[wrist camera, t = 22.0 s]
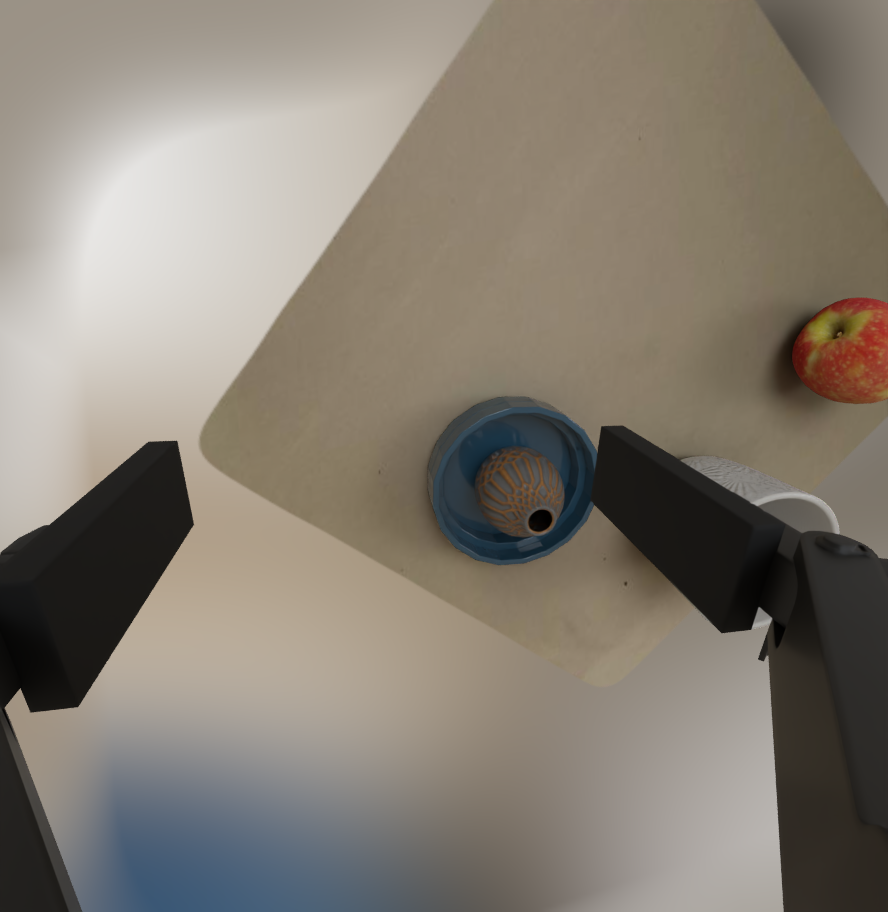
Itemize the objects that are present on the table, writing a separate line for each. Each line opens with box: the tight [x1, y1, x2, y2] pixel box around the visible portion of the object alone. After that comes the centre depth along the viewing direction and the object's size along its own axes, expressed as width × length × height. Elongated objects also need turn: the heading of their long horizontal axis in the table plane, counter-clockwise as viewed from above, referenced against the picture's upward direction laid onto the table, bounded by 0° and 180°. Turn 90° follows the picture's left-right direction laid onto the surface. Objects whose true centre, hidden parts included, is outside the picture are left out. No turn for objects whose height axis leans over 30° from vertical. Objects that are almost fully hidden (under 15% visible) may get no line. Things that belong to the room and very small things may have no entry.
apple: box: [792, 298, 888, 404], centre depth 39 cm, size 8×8×8 cm
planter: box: [678, 456, 840, 629], centre depth 41 cm, size 12×12×11 cm
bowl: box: [428, 397, 597, 565], centre depth 40 cm, size 14×14×4 cm
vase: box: [475, 446, 564, 537], centre depth 37 cm, size 7×7×9 cm
